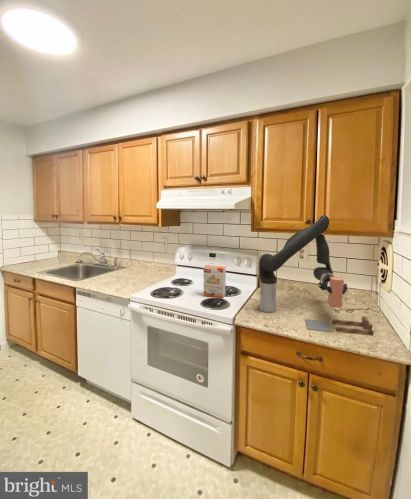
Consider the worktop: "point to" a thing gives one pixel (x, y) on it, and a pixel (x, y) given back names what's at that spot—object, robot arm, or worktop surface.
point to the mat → (317, 325)
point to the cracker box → (214, 281)
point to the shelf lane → (364, 324)
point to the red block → (336, 292)
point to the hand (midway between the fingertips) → (337, 291)
